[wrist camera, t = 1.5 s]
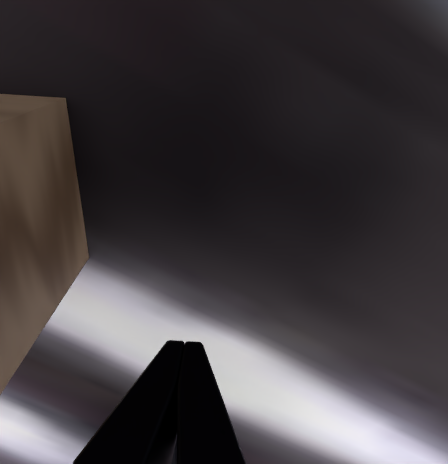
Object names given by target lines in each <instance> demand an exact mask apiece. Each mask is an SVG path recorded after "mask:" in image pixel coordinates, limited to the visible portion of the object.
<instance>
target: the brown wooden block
mask: <svg viewBox="0 0 448 464" xmlns="http://www.w3.org/2000/svg"><path fill="white" fill-rule="evenodd" d="M88 259H89V254H88V247H87V240H86V233H85V226H84V219H83V213H82V206H81V199H80V192H79V185H78V178H77V172H76V165H75V158H74V151H73V144H72V137H71V131H70V124H69V117H68V110H67V103H66V98H58V97H42V96H26V95H10V94H0V395H1V393H2V391H3V390H4V388H5V387H6V385H7V384H8V382H9V381H10V379H11V378H12V376H13V374H14V373H15V371H16V370H17V368H18V367H19V365H20V364H21V362H22V361H23V359H24V357H25V356H26V354H27V353H28V351H29V350H30V348H31V347H32V345H33V344H34V342H35V340H36V339H37V337H38V336H39V334H40V333H41V331H42V330H43V328H44V327H45V325H46V323H47V322H48V320H49V319H50V317H51V316H52V314H53V313H54V311H55V310H56V308H57V306H58V305H59V303H60V302H61V300H62V299H63V297H64V296H65V294H66V293H67V291H68V289H69V288H70V286H71V285H72V283H73V282H74V280H75V279H76V277H77V276H78V274H79V272H80V271H81V269H82V268H83V266H84V265H85V263H86V262H87V260H88Z"/></svg>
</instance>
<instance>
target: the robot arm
mask: <svg viewBox="0 0 448 464" xmlns="http://www.w3.org/2000/svg"><path fill="white" fill-rule="evenodd" d="M73 464H246V462H245V459H244V457H243V454H242V451H241V448H240V446H239V443H238V440H237V437H236V435H235V432H234V429H233V426H232V424H231V421H230V418H229V415H228V413H227V410H226V407H225V404H224V401H223V399H222V396H221V393H220V390H219V388H218V385H217V382H216V379H215V377H214V374H213V371H212V368H211V366H210V363H209V360H208V357H207V355H206V352H205V349H204V346H203V344H202V343H201V342H190V341H187V342H186V343H184V342H183V341H172V340H169V341H167V342H166V343H165V344H164V346H163V347H162V348H161V350H160V351H159V352H158V353H157V355H156V356H155V357H154V359H153V360H152V361H151V362H150V364H149V365H148V366H147V368H146V369H145V370H144V371H143V373H142V374H141V375H140V377H139V378H138V379H137V380H136V382H135V383H134V384H133V386H132V387H131V388H130V389H129V391H128V392H127V393H126V395H125V396H124V397H123V398H122V400H121V401H120V402H119V404H118V405H117V406H116V407H115V409H114V410H113V411H112V413H111V414H110V415H109V416H108V418H107V419H106V420H105V422H104V423H103V424H102V425H101V427H100V428H99V429H98V431H97V432H96V433H95V434H94V436H93V437H92V438H91V440H90V441H89V442H88V443H87V445H86V446H85V447H84V449H83V450H82V451H81V452H80V454H79V455H78V456H77V458H76V459H75V460H74V462H73Z"/></svg>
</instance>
